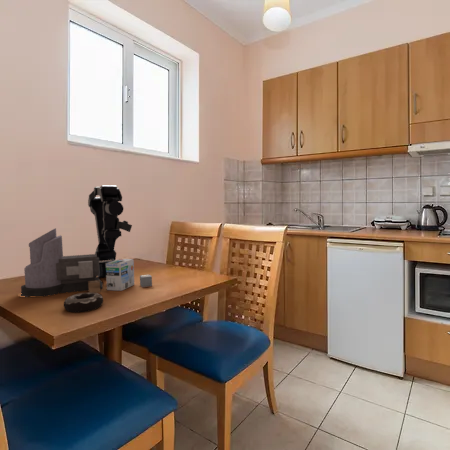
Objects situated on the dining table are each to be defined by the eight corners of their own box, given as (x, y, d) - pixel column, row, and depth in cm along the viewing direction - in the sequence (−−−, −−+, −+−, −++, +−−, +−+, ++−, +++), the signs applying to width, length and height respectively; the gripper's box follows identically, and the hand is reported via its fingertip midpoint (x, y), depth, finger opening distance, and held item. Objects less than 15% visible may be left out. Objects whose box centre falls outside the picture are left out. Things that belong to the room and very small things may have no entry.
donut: (95, 300, 112) (95, 289, 111) (109, 308, 103) (108, 295, 103) (59, 308, 104) (58, 295, 104) (70, 317, 95) (69, 303, 95)
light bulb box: (122, 291, 122) (120, 263, 122) (106, 290, 124) (104, 263, 123) (135, 284, 133) (134, 258, 132) (120, 283, 134) (119, 258, 133)
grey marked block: (140, 285, 131) (139, 275, 131) (150, 284, 133) (149, 274, 133) (142, 287, 128) (141, 277, 127) (152, 286, 129) (151, 276, 129)
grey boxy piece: (12, 299, 114) (8, 231, 112) (23, 289, 129) (19, 228, 127) (102, 290, 124) (99, 227, 123) (102, 281, 139) (100, 225, 138)
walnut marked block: (88, 291, 123) (88, 280, 123) (99, 290, 125) (99, 279, 125) (88, 294, 120) (88, 283, 119) (100, 292, 121) (99, 281, 121)
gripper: (133, 215, 130) (135, 253, 131) (127, 214, 146) (128, 248, 147) (104, 216, 125) (106, 255, 126) (101, 215, 142) (102, 250, 143)
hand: (112, 252), depth 136 cm, fingers closed
